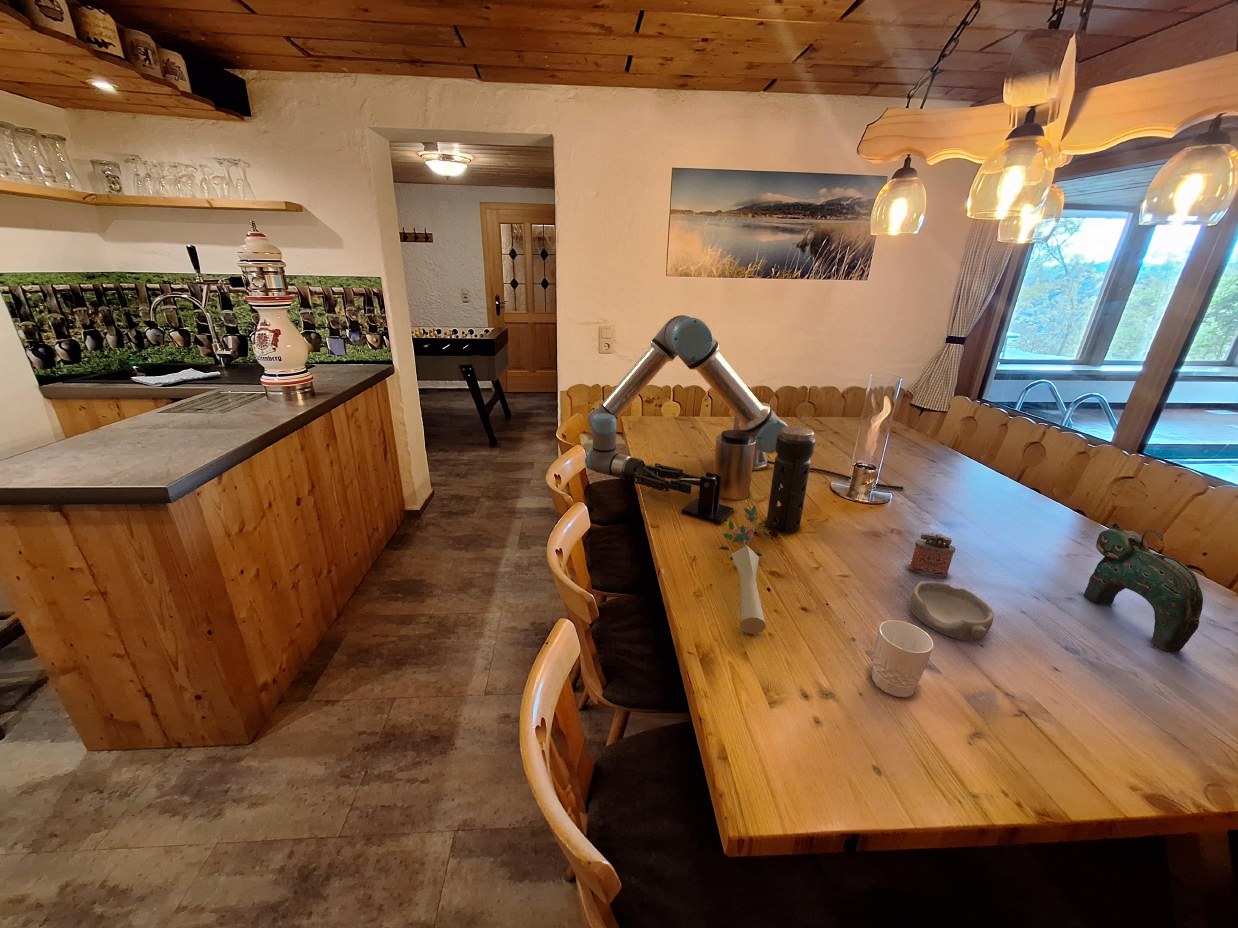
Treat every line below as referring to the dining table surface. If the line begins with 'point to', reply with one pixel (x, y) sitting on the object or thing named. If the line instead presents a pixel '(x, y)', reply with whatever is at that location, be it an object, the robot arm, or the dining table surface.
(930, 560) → the lighter
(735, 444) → the metal tumbler
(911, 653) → the white cup
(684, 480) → the switch lever
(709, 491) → the switch base
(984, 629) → the dish
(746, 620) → the flower vase
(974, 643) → the dining table surface
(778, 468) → the muzzle brake
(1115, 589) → the ceramic cat
